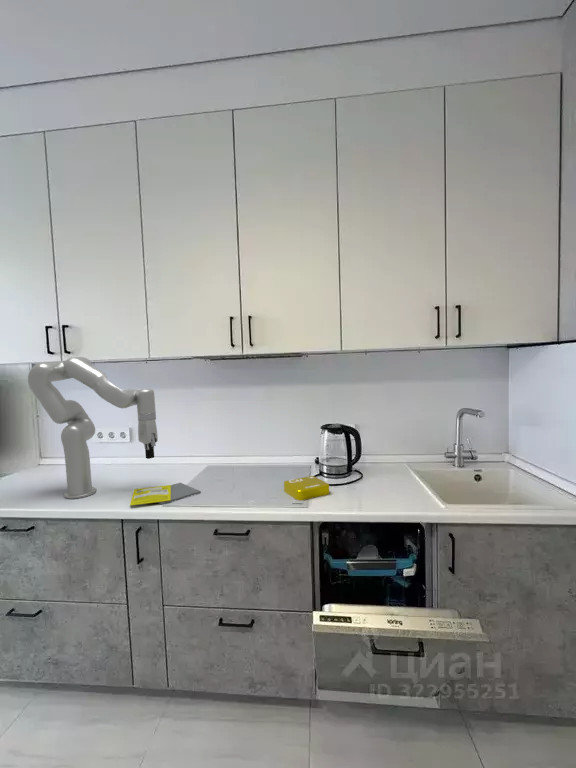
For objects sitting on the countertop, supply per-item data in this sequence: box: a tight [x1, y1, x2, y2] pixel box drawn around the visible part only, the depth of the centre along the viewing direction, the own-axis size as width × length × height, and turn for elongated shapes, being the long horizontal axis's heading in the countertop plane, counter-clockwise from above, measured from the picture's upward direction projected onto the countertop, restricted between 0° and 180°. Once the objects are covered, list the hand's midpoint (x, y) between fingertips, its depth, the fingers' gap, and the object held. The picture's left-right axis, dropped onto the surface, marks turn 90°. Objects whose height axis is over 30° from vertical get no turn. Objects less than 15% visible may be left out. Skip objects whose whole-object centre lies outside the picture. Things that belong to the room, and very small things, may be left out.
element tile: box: [283, 475, 330, 502], centre depth 167 cm, size 15×15×5 cm
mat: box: [155, 482, 202, 506], centre depth 172 cm, size 18×18×1 cm
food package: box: [129, 484, 172, 506], centre depth 169 cm, size 15×1×20 cm
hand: (150, 457), depth 178 cm, fingers closed
